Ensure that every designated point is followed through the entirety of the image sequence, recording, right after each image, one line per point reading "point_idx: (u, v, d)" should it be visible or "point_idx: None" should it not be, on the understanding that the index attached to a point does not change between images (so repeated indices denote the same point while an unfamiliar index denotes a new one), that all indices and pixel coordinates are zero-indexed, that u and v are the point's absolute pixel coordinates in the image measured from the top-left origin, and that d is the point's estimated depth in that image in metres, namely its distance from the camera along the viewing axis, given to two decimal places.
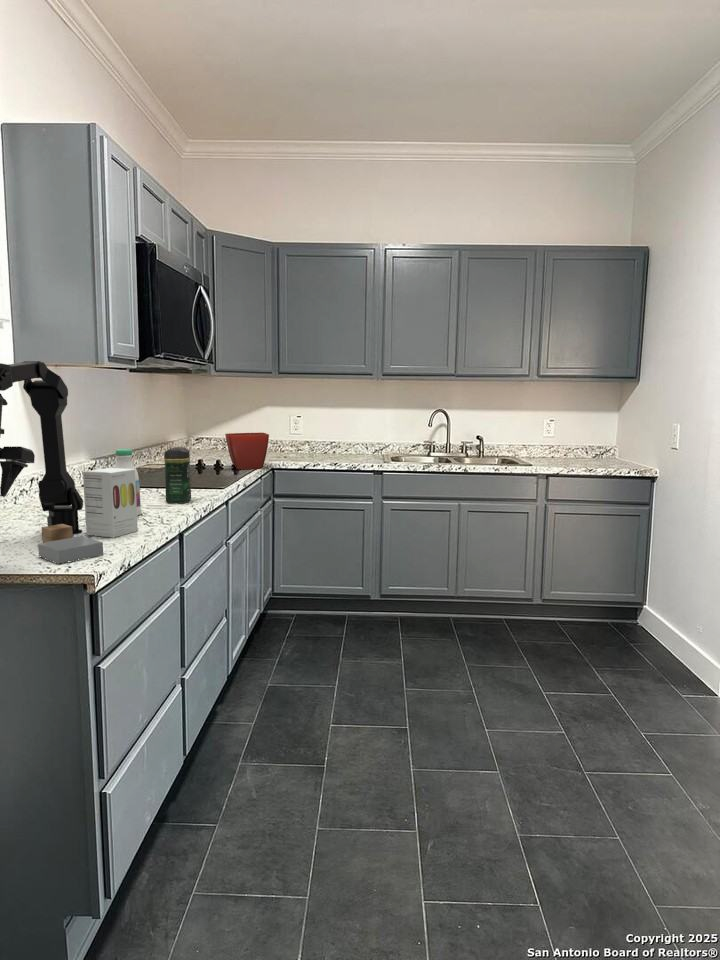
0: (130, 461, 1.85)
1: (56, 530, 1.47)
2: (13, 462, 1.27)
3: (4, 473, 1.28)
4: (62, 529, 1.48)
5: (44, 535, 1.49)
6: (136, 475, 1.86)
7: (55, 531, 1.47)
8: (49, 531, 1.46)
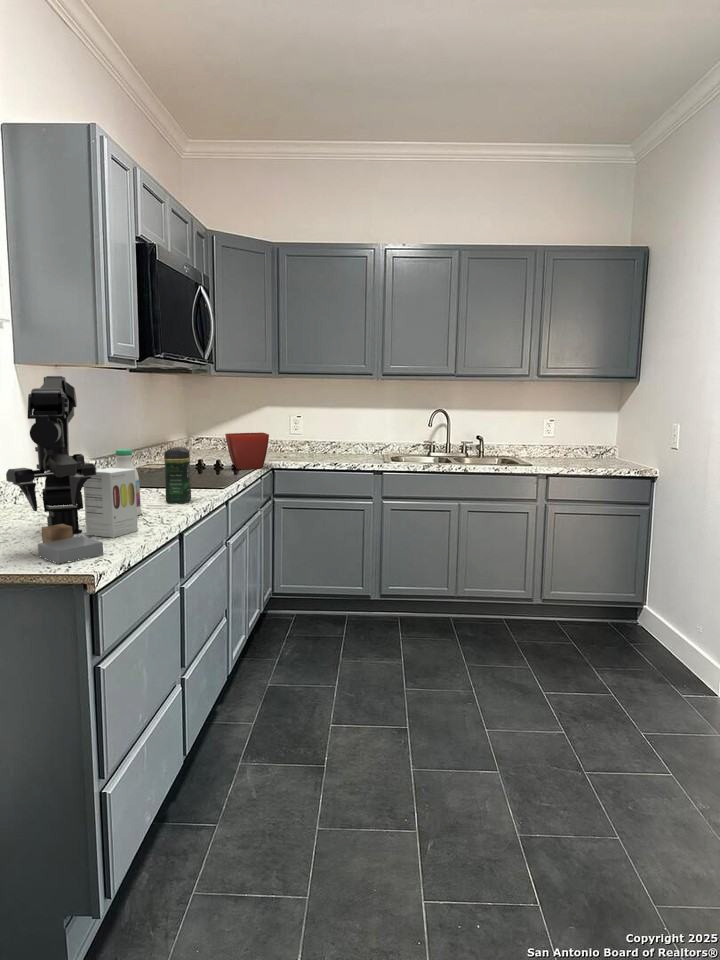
0: (130, 461, 1.85)
1: (56, 530, 1.47)
2: (90, 477, 1.52)
3: (79, 487, 1.51)
4: (62, 529, 1.48)
5: (44, 535, 1.49)
6: (136, 475, 1.86)
7: (55, 531, 1.47)
8: (49, 531, 1.46)
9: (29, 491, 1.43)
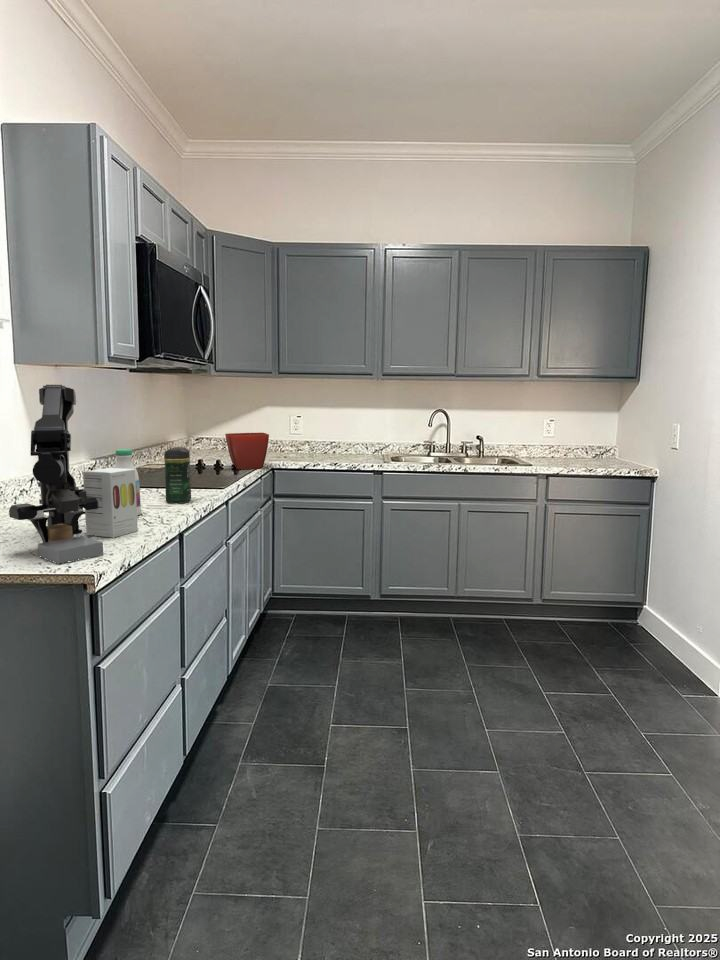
0: (130, 461, 1.85)
1: (56, 530, 1.47)
2: (85, 512, 1.52)
3: (73, 522, 1.51)
4: (62, 529, 1.48)
5: None
6: (136, 475, 1.86)
7: (55, 531, 1.47)
8: (49, 531, 1.46)
9: (40, 526, 1.45)
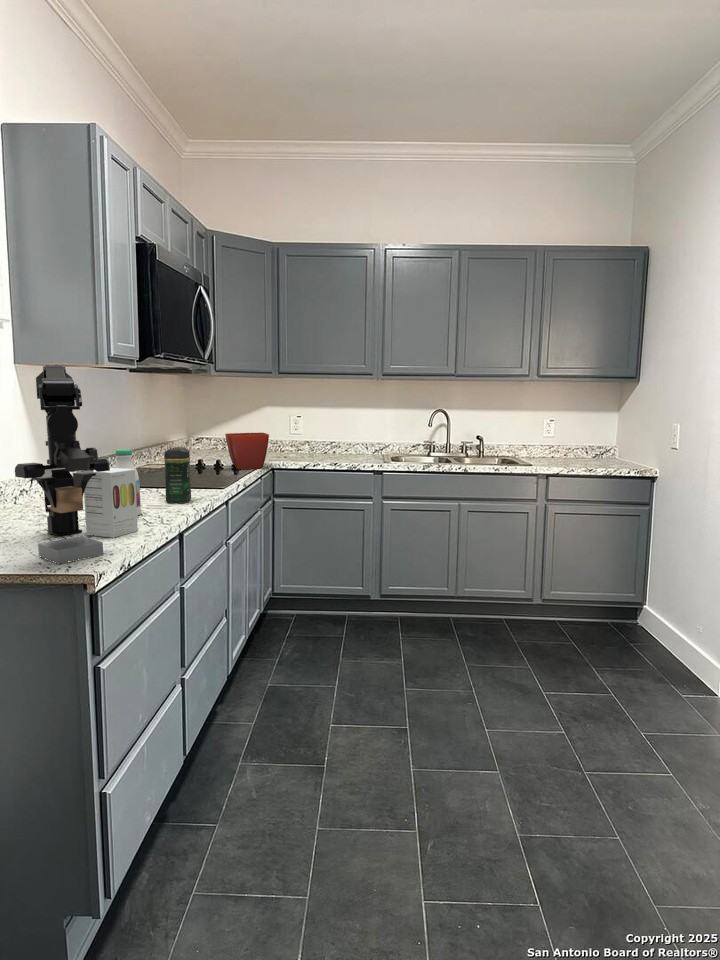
0: (130, 461, 1.85)
1: (65, 491, 1.37)
2: None
3: (83, 484, 1.41)
4: (71, 490, 1.38)
5: None
6: (136, 475, 1.86)
7: (64, 492, 1.37)
8: (57, 492, 1.37)
9: (48, 486, 1.35)
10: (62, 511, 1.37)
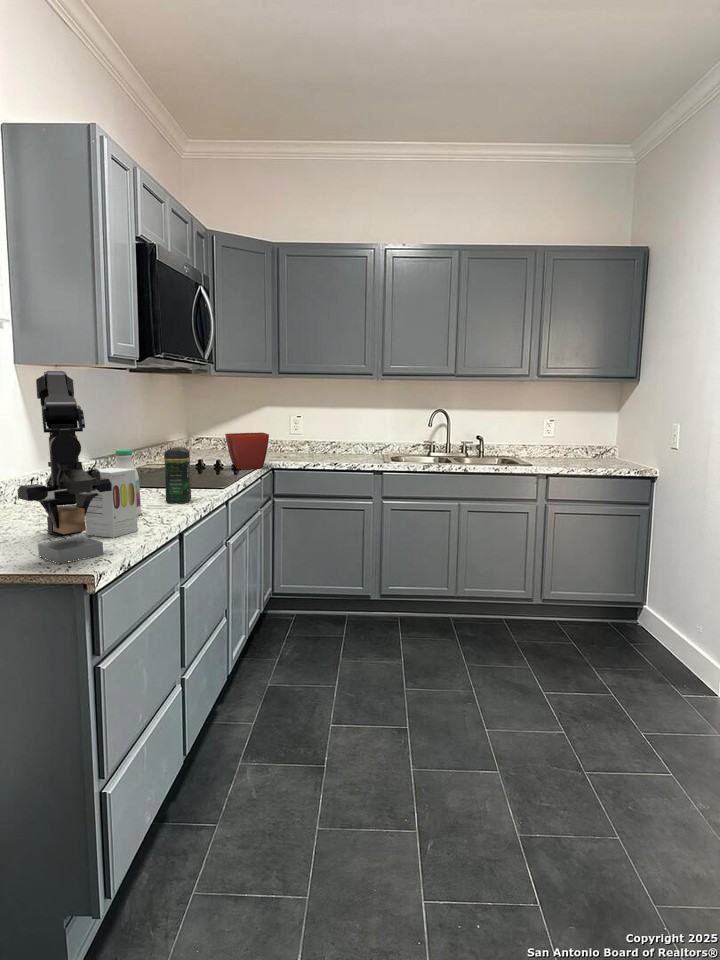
0: (130, 461, 1.85)
1: (67, 512, 1.38)
2: (98, 494, 1.43)
3: (85, 504, 1.42)
4: (74, 511, 1.39)
5: None
6: (136, 475, 1.86)
7: (66, 513, 1.37)
8: (60, 513, 1.37)
9: (51, 508, 1.36)
10: (65, 532, 1.38)
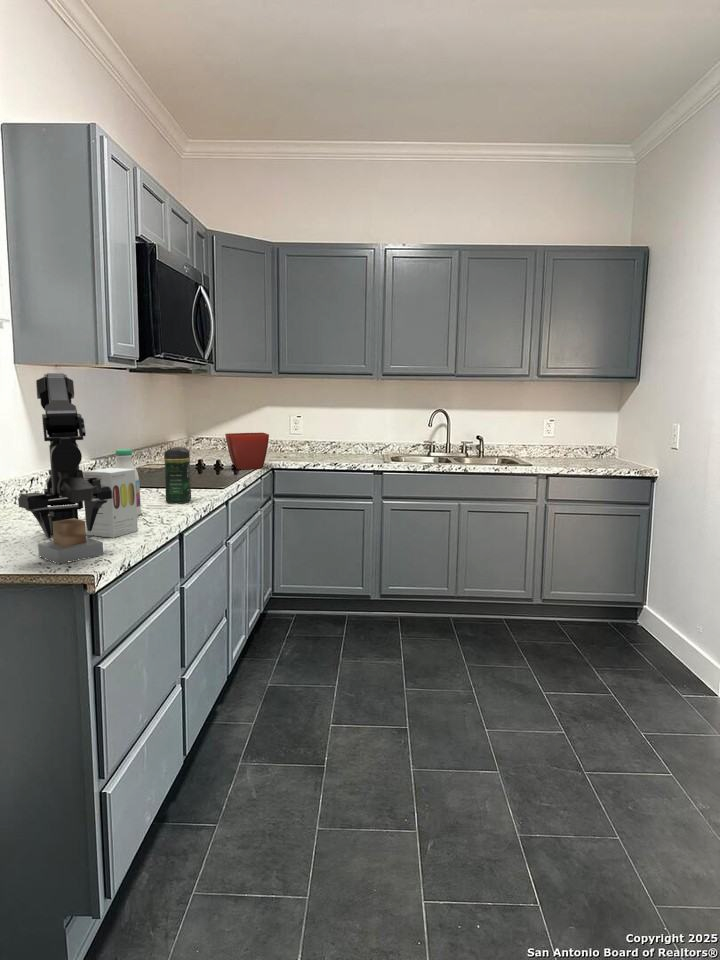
0: (130, 461, 1.85)
1: (68, 525, 1.38)
2: None
3: (94, 511, 1.43)
4: (75, 523, 1.39)
5: (55, 530, 1.40)
6: (136, 475, 1.86)
7: (67, 526, 1.38)
8: (61, 526, 1.37)
9: (42, 517, 1.35)
10: (66, 545, 1.38)
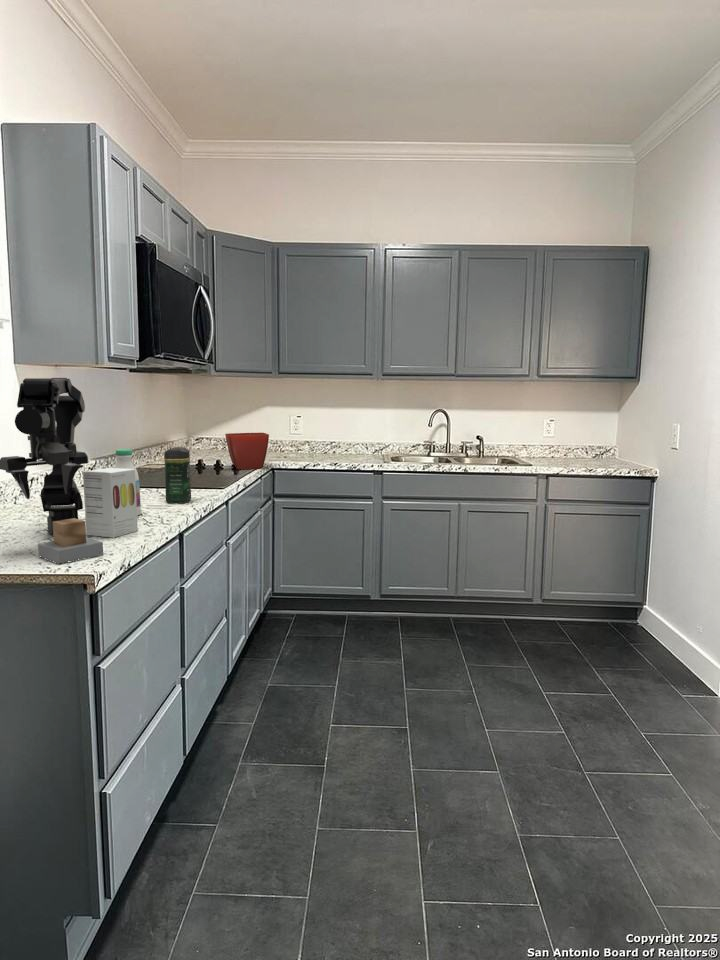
0: (130, 461, 1.85)
1: (68, 525, 1.38)
2: (82, 466, 1.54)
3: (71, 475, 1.54)
4: (75, 523, 1.39)
5: (55, 530, 1.40)
6: (136, 475, 1.86)
7: (67, 526, 1.38)
8: (61, 526, 1.37)
9: (22, 479, 1.45)
10: (66, 545, 1.38)
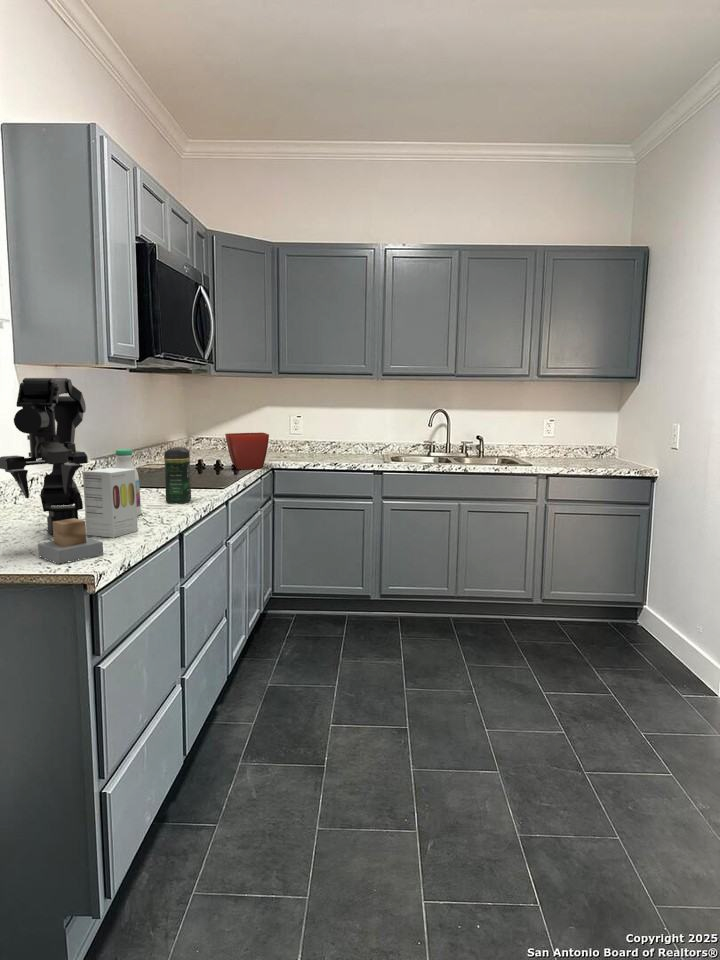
0: (130, 461, 1.85)
1: (68, 525, 1.38)
2: None
3: (70, 475, 1.54)
4: (75, 523, 1.39)
5: (55, 530, 1.40)
6: (136, 475, 1.86)
7: (67, 526, 1.38)
8: (61, 526, 1.37)
9: (21, 478, 1.45)
10: (66, 545, 1.38)
